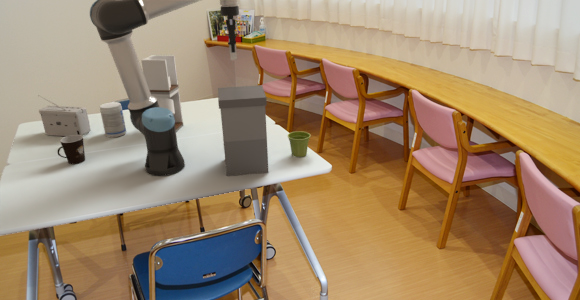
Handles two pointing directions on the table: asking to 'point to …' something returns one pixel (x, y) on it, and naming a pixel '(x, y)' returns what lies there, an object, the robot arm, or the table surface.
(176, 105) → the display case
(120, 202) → the table surface
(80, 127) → the stereo radio cassette player
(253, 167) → the grey box
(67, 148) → the coffee mug
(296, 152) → the plant pot
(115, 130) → the supplement tub
